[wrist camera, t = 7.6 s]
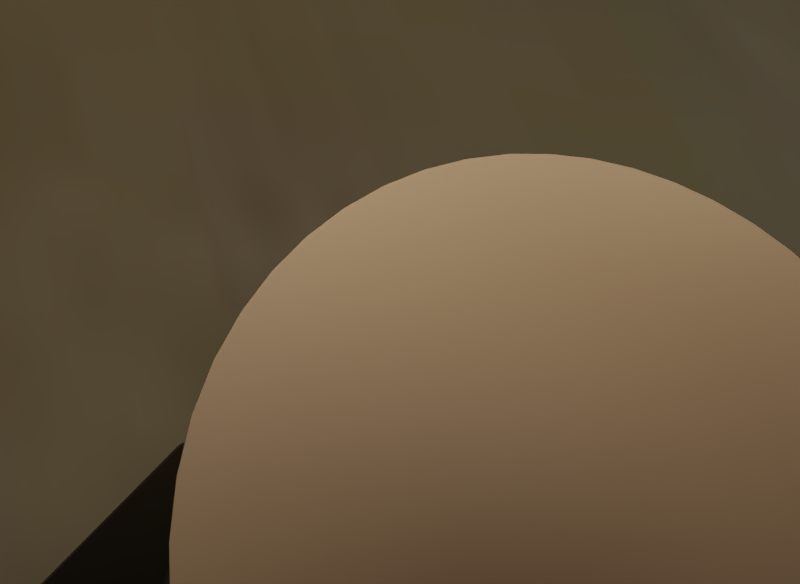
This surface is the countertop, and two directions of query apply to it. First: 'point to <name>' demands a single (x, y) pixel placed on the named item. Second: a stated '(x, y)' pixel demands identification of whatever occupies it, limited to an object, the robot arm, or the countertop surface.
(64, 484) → the countertop surface
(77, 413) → the countertop surface
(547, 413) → the player peg
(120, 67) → the countertop surface
